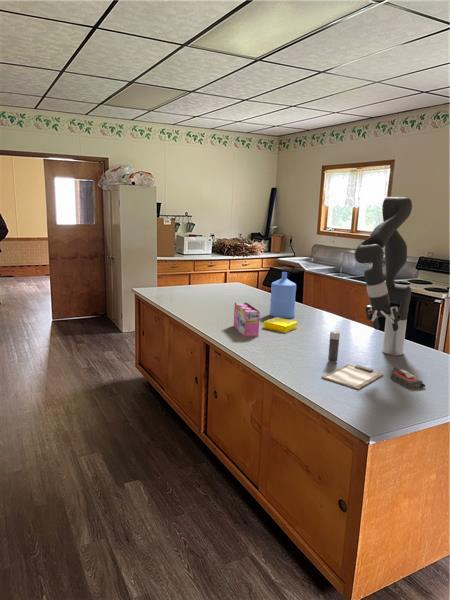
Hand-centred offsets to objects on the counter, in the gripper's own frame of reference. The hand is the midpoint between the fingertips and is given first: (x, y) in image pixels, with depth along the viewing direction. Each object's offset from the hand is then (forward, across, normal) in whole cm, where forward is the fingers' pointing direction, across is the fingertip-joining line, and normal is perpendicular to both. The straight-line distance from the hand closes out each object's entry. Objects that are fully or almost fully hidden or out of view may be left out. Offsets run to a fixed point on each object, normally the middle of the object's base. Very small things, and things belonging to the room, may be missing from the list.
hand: (386, 329), depth 178 cm
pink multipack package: (+4, +82, +11) cm, 83 cm away
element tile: (+11, +78, -9) cm, 79 cm away
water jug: (+14, +99, -30) cm, 105 cm away
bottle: (+13, +24, +11) cm, 29 cm away
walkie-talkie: (+21, -5, +4) cm, 22 cm away
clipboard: (+13, +7, +18) cm, 24 cm away
